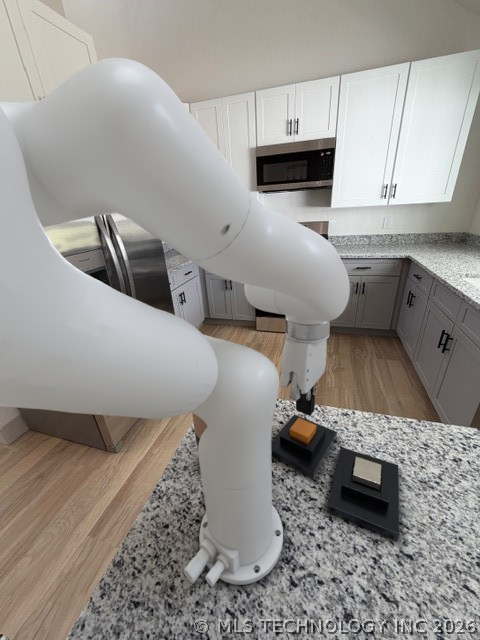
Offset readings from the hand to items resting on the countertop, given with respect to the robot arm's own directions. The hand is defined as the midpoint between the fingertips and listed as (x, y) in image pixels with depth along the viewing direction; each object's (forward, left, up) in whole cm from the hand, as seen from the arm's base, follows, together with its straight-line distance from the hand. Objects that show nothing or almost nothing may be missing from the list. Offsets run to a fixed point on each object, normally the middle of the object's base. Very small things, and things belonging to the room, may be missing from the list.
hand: (305, 410), depth 54 cm
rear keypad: (-1, 0, -9) cm, 9 cm away
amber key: (-1, 0, -5) cm, 6 cm away
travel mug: (-14, +12, -9) cm, 20 cm away
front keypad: (-4, -13, -9) cm, 16 cm away
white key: (-4, -13, -6) cm, 15 cm away
